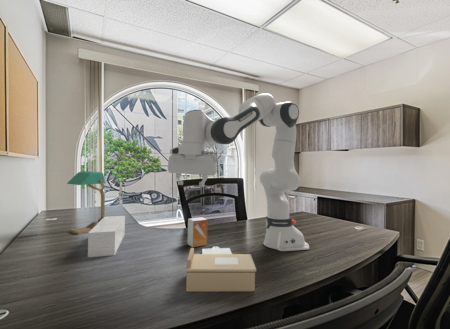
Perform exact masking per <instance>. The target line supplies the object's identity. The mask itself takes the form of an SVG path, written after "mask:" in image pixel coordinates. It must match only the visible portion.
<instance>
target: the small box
mask: <svg viewBox="0 0 450 329" xmlns="http://www.w3.org/2000/svg"><path fill="white" fill-rule="evenodd" d="M207 244H208V219H207V218H205V217H202V216H201V217H200V216H199V217H192V218H188V219H187V245H188V246H190V248H195V247H201V246H207Z"/></svg>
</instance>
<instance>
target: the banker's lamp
mask: <svg viewBox="0 0 450 329" xmlns="http://www.w3.org/2000/svg"><path fill="white" fill-rule="evenodd" d="M66 184H67V185H76V186H84V185H87V186H88V187H89V188H91V189H94V190H96V191H98V192H99V193H100V196H101V198H100V201H101V202H100V218H98V220H97V221H93V222H91V223H90V224H88V225H86V226H85V227H80V228H75V229H72V228H71V229H70V233H72V234H75V235H83V234H88V233H89V232H90V231H91V230H92V229H93V228H94V227H95V226H96V225H97V224H98V223H99V222H100V221H101V220H102V219H103V218H104V217H105V210H106V209H105V206H106V203H105V201H106V200H105V198H106V197H105V196H106V195H105V192H104V189H105V184H106V179H105V175H104V173H103V172H101V171H89V170H88V171H85V170H84V171H78V172H77V173H76V174H75V175H74V176H73V177H72V178H70V180H69V181H68V182H67V183H66ZM94 185H100V186H101V188H99V187H96V186H94Z"/></svg>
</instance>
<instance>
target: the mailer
mask: <svg viewBox="0 0 450 329" xmlns="http://www.w3.org/2000/svg"><path fill="white" fill-rule="evenodd" d="M185 282H186V283H185V284H186V285H185V286H186V288H185V291H186V292H255V291H256V290H255V289H256V288H255V287H256V284H255V283H256V272H186V281H185Z"/></svg>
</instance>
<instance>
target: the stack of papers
mask: <svg viewBox="0 0 450 329" xmlns="http://www.w3.org/2000/svg"><path fill="white" fill-rule="evenodd" d="M125 223H126V215H115V216H113V215H111V216H104V218H103V219H102V220H101V221H100V222H99V223H98V224H97V225H96V226H95V227H94V228H93V229H92V230H91V231H90V232H88V233H87V258H98V257H109V256H115V255H116V254H117V252H118V250H119V247H120V246H121V243H122V241H123V239H124V237H125V233H126V231H125V230H126V224H125Z"/></svg>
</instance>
